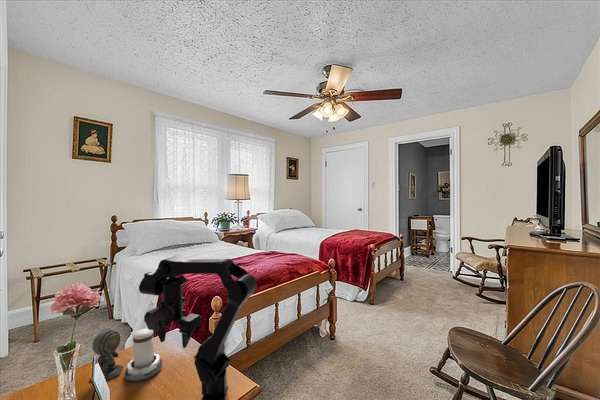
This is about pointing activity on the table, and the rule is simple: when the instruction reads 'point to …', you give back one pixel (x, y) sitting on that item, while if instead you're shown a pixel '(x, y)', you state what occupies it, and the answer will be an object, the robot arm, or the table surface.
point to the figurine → (107, 353)
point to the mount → (143, 370)
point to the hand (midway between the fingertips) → (173, 344)
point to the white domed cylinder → (143, 348)
